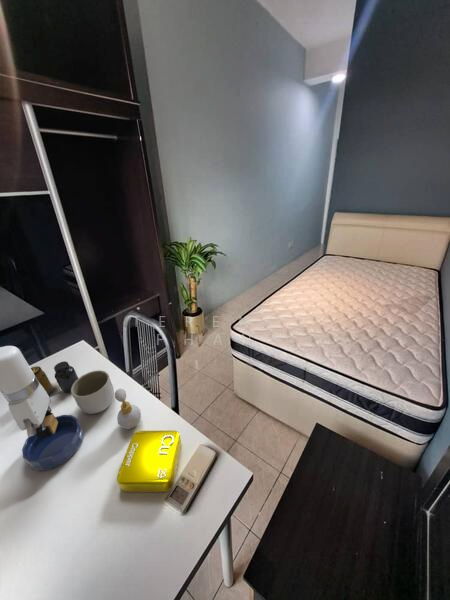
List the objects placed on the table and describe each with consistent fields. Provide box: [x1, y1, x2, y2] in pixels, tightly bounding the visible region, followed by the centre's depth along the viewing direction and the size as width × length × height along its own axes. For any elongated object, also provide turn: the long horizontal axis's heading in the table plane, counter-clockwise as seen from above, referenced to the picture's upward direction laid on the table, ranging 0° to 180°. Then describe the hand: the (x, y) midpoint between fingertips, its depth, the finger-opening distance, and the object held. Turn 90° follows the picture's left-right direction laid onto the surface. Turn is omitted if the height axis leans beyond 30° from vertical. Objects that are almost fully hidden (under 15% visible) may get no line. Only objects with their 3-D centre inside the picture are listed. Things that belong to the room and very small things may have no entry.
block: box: [35, 413, 58, 434], centre depth 74 cm, size 4×4×4 cm
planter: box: [70, 370, 115, 415], centre depth 90 cm, size 12×12×11 cm
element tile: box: [116, 430, 182, 493], centre depth 72 cm, size 15×15×5 cm
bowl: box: [21, 414, 85, 472], centre depth 78 cm, size 15×15×5 cm
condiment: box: [30, 365, 61, 397], centre depth 97 cm, size 7×8×12 cm
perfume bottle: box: [114, 388, 142, 430], centre depth 83 cm, size 8×10×12 cm
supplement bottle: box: [53, 361, 79, 394], centre depth 98 cm, size 7×7×12 cm
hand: (48, 429), depth 75 cm, fingers closed on block, 4 cm apart
